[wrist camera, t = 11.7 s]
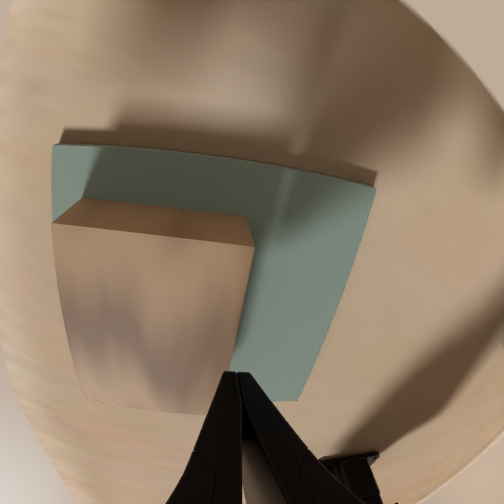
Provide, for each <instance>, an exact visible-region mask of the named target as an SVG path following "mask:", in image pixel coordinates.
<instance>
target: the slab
mask: <svg viewBox="0 0 504 504" xmlns="http://www.w3.org/2000/svg"><path fill="white" fill-rule="evenodd" d="M52 237H53V249H54V259H55V268H56V276H57V283H58V290H59V296H60V302H61V308H62V314H63V319H64V324H65V329H66V334H67V338H68V343H69V347H70V351H71V355H72V359H73V363H74V367H75V371H76V374H77V378H78V381H79V385H80V388H81V391H82V395H83V398H84V399H88V400H93V401H98V402H103V403H109V404H114V405H120V406H126V407H133V408H140V409H147V410H155V411H163V412H172V413H183V414H195V415H207V413H208V410H209V408H210V405H211V402H212V400H213V397H214V394H215V392H216V389H217V387H218V384H219V381H220V379H221V376H222V373H223V372H224V371H229V368H230V363H231V359H232V354H233V349H234V344H235V340H236V335H237V330H238V325H239V321H240V316H241V311H242V306H243V302H244V297H245V292H246V287H247V283H248V278H249V273H250V268H251V264H252V259H253V254H254V249H255V245H254V242H253V239H252V235H251V232H250V229H249V226H248V222H247V219H246V217H244V216H236V215H229V214H221V213H213V212H205V211H197V210H189V209H181V208H172V207H164V206H155V205H146V204H137V203H127V202H118V201H108V200H97V199H87V198H81V199H80V200H79V201H77V202H76V203H75V204H74V205H72V206H71V207H70V208H69V209H68V210H66V211H65V212H64V213H63V214H62V215H60V216H59V217H58V218H57V219H56V220H55V221H53V222H52Z"/></svg>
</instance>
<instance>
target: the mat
mask: <svg viewBox="0 0 504 504" xmlns="http://www.w3.org/2000/svg"><path fill="white" fill-rule="evenodd" d="M375 192H376V188H374V187H373V186H371V185H367V184H363V183H359V182H355V181H351V180H346V179H342V178H337V177H333V176H328V175H323V174H319V173H314V172H309V171H304V170H299V169H294V168H288V167H283V166H277V165H272V164H266V163H260V162H254V161H248V160H241V159H235V158H228V157H221V156H214V155H206V154H198V153H190V152H181V151H172V150H162V149H152V148H141V147H128V146H113V145H95V144H69V143H58V144H55V145H53V147H52V217H53V221H55V220H56V219H57V218H58V217H59V216H60V215H62V214H63V213H64V212H65V211H66V210H68V209H69V208H70V207H71V206H72V205H74V204H75V203H76V202H77V201H79V200H80V199H81V198H87V199H97V200H108V201H118V202H127V203H137V204H146V205H155V206H164V207H172V208H181V209H189V210H197V211H205V212H213V213H221V214H229V215H236V216H244V217H246V219H247V222H248V226H249V229H250V232H251V235H252V239H253V242H254V245H255V249H254V254H253V259H252V264H251V268H250V273H249V278H248V283H247V287H246V292H245V297H244V302H243V306H242V311H241V316H240V321H239V325H238V330H237V335H236V340H235V344H234V349H233V354H232V359H231V363H230V368H229V371H235V372H236V373H237V372H249V373H251V374H252V376H253V377H254V379H255V380H256V381H257V383H258V384H259V385H260V387H261V388H262V389H263V391H264V392H265V393H266V395H267V396H268V397H269V399H270V400H271V401H298V398H299V396H300V394H301V392H302V390H303V388H304V385H305V383H306V381H307V379H308V377H309V374H310V372H311V370H312V368H313V365H314V363H315V361H316V358H317V356H318V354H319V351H320V349H321V347H322V344H323V342H324V339H325V337H326V335H327V332H328V330H329V327H330V325H331V322H332V320H333V317H334V314H335V312H336V309H337V307H338V304H339V301H340V299H341V296H342V293H343V291H344V288H345V285H346V282H347V280H348V277H349V274H350V271H351V268H352V265H353V263H354V260H355V257H356V254H357V251H358V248H359V245H360V242H361V238H362V235H363V232H364V229H365V226H366V223H367V219H368V216H369V213H370V209H371V206H372V203H373V199H374V196H375Z"/></svg>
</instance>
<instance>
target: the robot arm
mask: <svg viewBox="0 0 504 504" xmlns="http://www.w3.org/2000/svg"><path fill="white" fill-rule="evenodd" d="M379 457H380V455H379V452H374V453H369V454H365V455H360V456H354V457H349V458H343V459H337V460H330V461H323V462H320V461H319V460H318V459H317V458H316V457H315V456H314V454H313V453H312V452H311V451H310V450H308V447H307V446H306V445H305V444H304V442H303V441H302V440H301V439H300V437H299V436H298V435H297V434H296V432H295V431H294V430H293V429H292V427H291V426H290V425H289V423H288V422H287V421H286V420H285V418H284V417H283V416H282V414H281V413H280V412H279V411H278V409H277V408H276V407H275V405H274V404H273V403H272V401H271V400H270V399H269V397H268V396H267V395H266V393H265V392H264V391H263V389H262V388H261V387H260V385H259V384H258V383H257V381H256V380H255V379H254V377H253V376H252V374H251V373H249V372H237V373H236V372H235V371H224V372H223V373H222V376H221V379H220V381H219V384H218V387H217V389H216V392H215V394H214V397H213V400H212V402H211V405H210V408H209V410H208V413H207V415H206V418H205V421H204V423H203V426H202V428H201V431H200V434H199V436H198V439H197V441H196V444H195V447H194V449H193V452H192V454H191V456H190V459H189V462H188V464H187V466H186V468H185V471H184V473H183V475H182V477H181V479H180V480H179V482H178V484H177V486H176V487H175V489H174V491H173V492H172V494H171V496H170V497H169V499H168V500H167V502H166V503H165V504H242V484H243V489H244V494H245V499H246V504H383V502H382V499H381V496H380V490H379V488H378V485H377V483H376V480H375V477H374V475H373V472H372V470H371V467H370V466H371V465H372V464H373V463H374V462H375V461H376V460H377V459H378V458H379ZM395 504H398V502H397V503H395Z"/></svg>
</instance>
